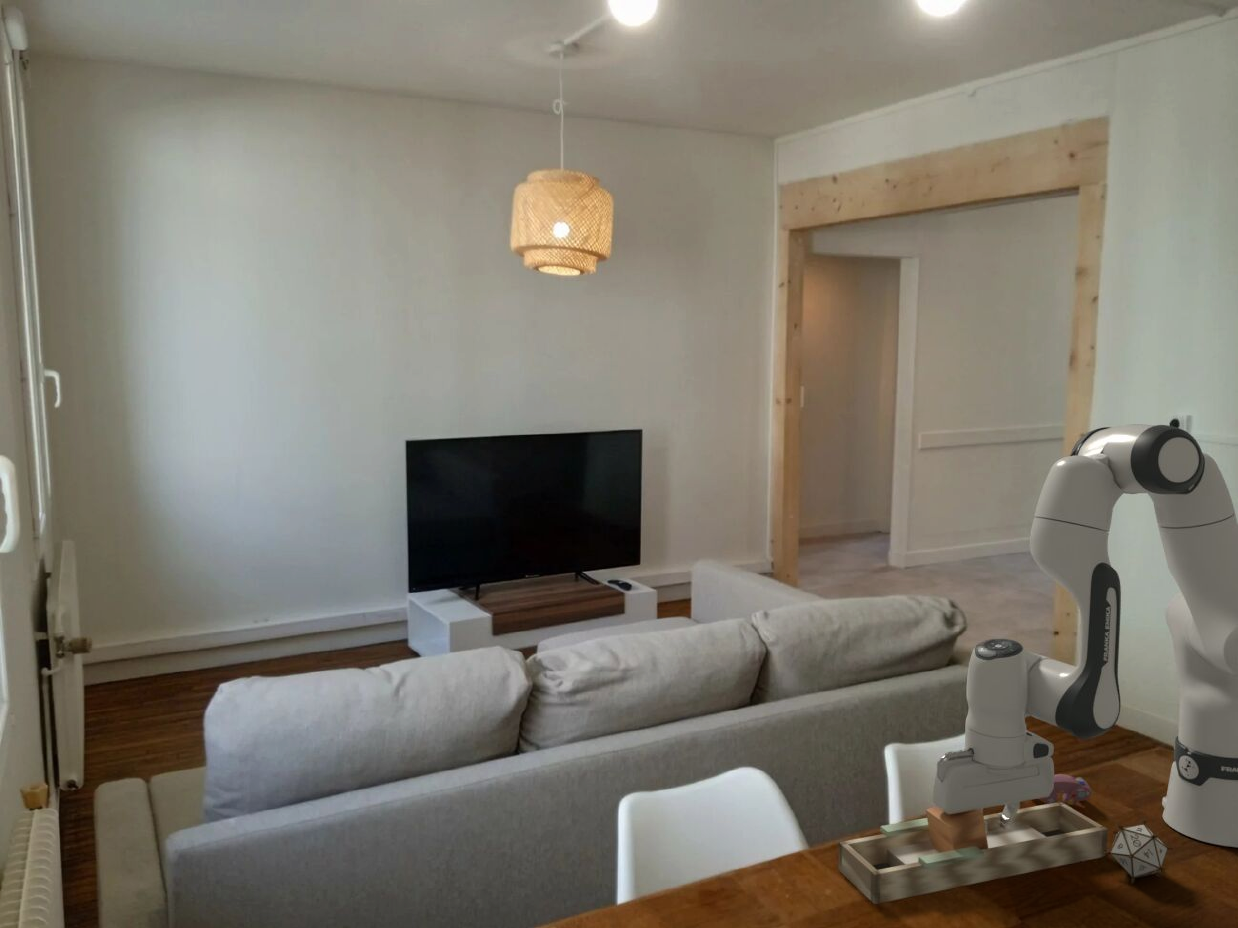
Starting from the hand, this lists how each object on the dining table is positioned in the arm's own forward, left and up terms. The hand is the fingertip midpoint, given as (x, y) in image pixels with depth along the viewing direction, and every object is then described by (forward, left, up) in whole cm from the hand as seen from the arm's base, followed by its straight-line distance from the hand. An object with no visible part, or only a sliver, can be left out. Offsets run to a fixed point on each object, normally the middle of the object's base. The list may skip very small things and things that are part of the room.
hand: (992, 829), depth 152 cm
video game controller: (-24, -12, -5) cm, 27 cm away
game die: (-18, +11, -5) cm, 21 cm away
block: (+6, 0, -2) cm, 6 cm away
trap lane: (+3, 0, -5) cm, 6 cm away
